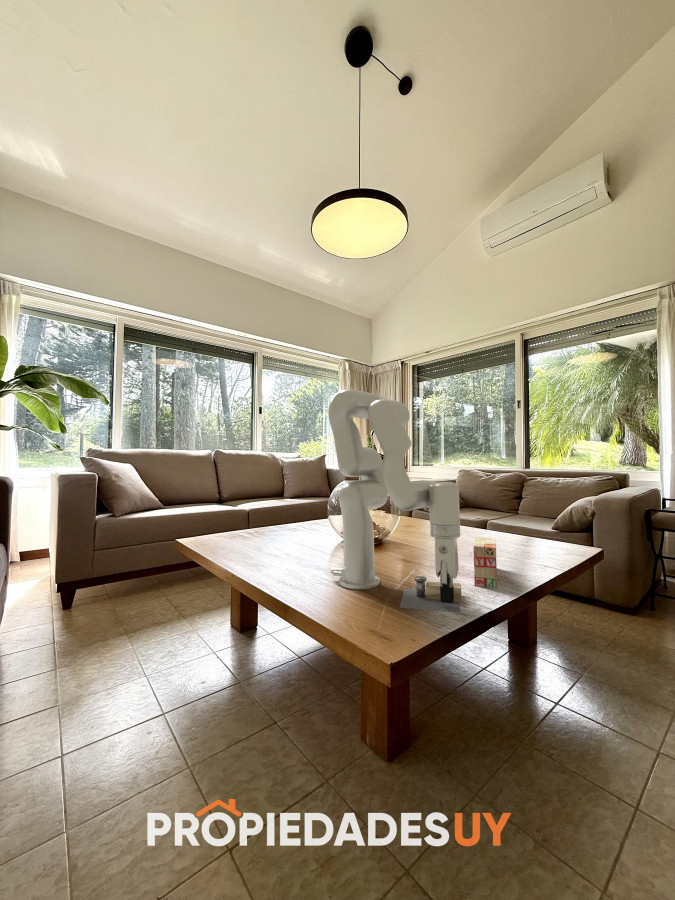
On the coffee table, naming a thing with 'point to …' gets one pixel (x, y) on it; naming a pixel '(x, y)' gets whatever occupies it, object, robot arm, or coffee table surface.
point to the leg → (434, 591)
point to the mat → (426, 602)
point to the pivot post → (420, 586)
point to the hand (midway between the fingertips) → (447, 601)
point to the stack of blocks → (485, 562)
